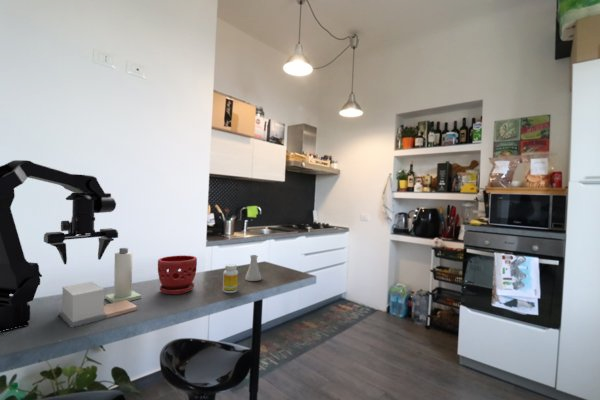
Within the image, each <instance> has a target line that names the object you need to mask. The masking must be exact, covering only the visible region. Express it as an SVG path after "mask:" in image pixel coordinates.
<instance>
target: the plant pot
mask: <svg viewBox="0 0 600 400" xmlns="http://www.w3.org/2000/svg"><path fill="white" fill-rule="evenodd" d="M197 266H198V258H197V257H196V256H193V255H170V256H164V257H160V258H159V259H158V260H157V273H158V275H157V276H158V280H159V282H160V284H161V285H160V286H159V290H160V292H161V293H163V294H166V295H181V294H182V295H183V294H186V293H189V292H190V291H192V290H193V289H194V288H195V282H194V279H195V277H196V273H197ZM179 270H180V271H179Z"/></svg>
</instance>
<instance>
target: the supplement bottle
mask: <svg viewBox="0 0 600 400" xmlns="http://www.w3.org/2000/svg"><path fill="white" fill-rule="evenodd" d="M224 267H225V268H224V269H225V270H223V273H222V292H224V293H228V294H232V293H236V292H237V291H238V289H239V288H238V287H239V285H238V284H239V283H238V282H239V271H238V270H237V268H238V267H237V264H235V263H227V264H225V266H224Z"/></svg>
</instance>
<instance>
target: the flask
mask: <svg viewBox="0 0 600 400" xmlns="http://www.w3.org/2000/svg"><path fill="white" fill-rule="evenodd" d="M249 263H250V264H249V266H248V269H247V272H246V274H245V277H244V280H245V281H248V282H256V281H257V282H258V281H262V275H261V273H260V269H259V266H258V255H257V254H251V255H250V262H249Z"/></svg>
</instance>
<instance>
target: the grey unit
mask: <svg viewBox="0 0 600 400" xmlns="http://www.w3.org/2000/svg"><path fill="white" fill-rule="evenodd" d="M61 298H62V299H61V300H62V302H61V303H62V305H61V309H62V310H59V311H58V315H59V317H60V318H62V320H63V321H64V322H65V321H66V322H67V323H68V324H69V325H70V326H71V327H72V328H75V327H74V326H76V327H79V326H83V325H87V324H89V323H94V322H97V321H100V320H101V321H102V320H105V319H108V318H107V314H106V313H104V305H105V303H104V302H105V288H103V287H102V286H99V285H98V284H97V283H95V282H93V281H87V282H83V283H77V284H72V285H66V286H62V297H61ZM66 322H65V323H66ZM67 323H66V324H67ZM68 324H67V325H68ZM82 324H83V325H82ZM78 325H79V326H78ZM70 326H69V327H70ZM71 327H70V328H71Z"/></svg>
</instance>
